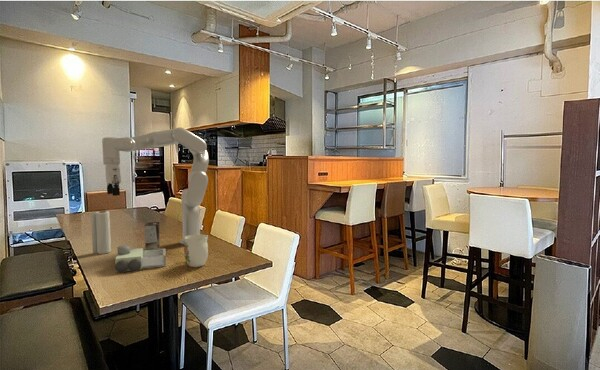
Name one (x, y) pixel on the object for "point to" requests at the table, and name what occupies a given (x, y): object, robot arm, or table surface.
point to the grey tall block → (101, 232)
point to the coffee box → (152, 236)
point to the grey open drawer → (153, 258)
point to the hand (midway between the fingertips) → (113, 194)
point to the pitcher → (196, 250)
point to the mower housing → (128, 259)
